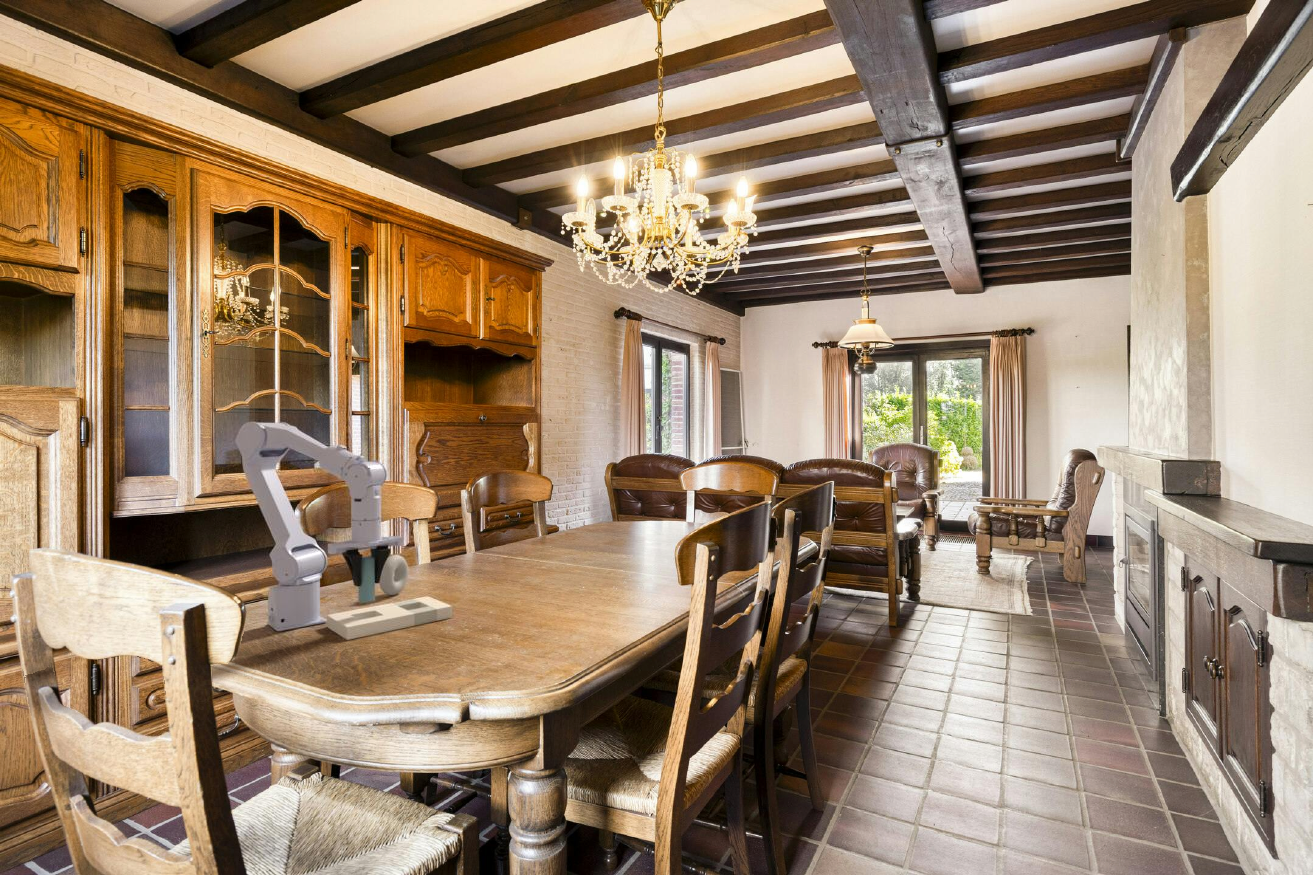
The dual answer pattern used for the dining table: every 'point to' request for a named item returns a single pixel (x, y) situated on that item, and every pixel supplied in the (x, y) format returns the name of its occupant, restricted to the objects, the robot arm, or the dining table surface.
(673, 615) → the dining table surface
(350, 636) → the peg board
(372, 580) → the peg
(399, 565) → the donut
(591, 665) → the dining table surface
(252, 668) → the dining table surface
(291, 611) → the robot arm
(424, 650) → the dining table surface
